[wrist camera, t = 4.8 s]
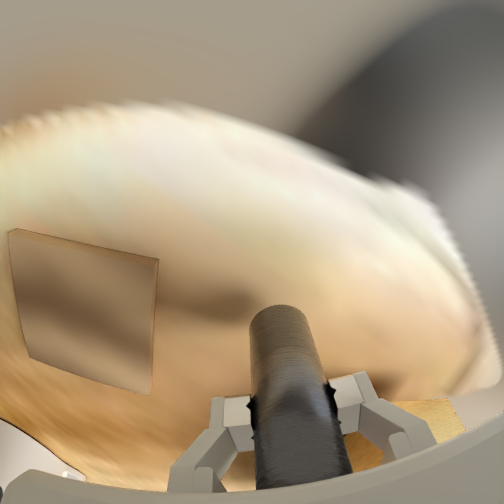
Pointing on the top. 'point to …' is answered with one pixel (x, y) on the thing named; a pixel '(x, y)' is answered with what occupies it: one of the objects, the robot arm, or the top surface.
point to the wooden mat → (86, 308)
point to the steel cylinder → (291, 404)
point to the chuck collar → (431, 411)
